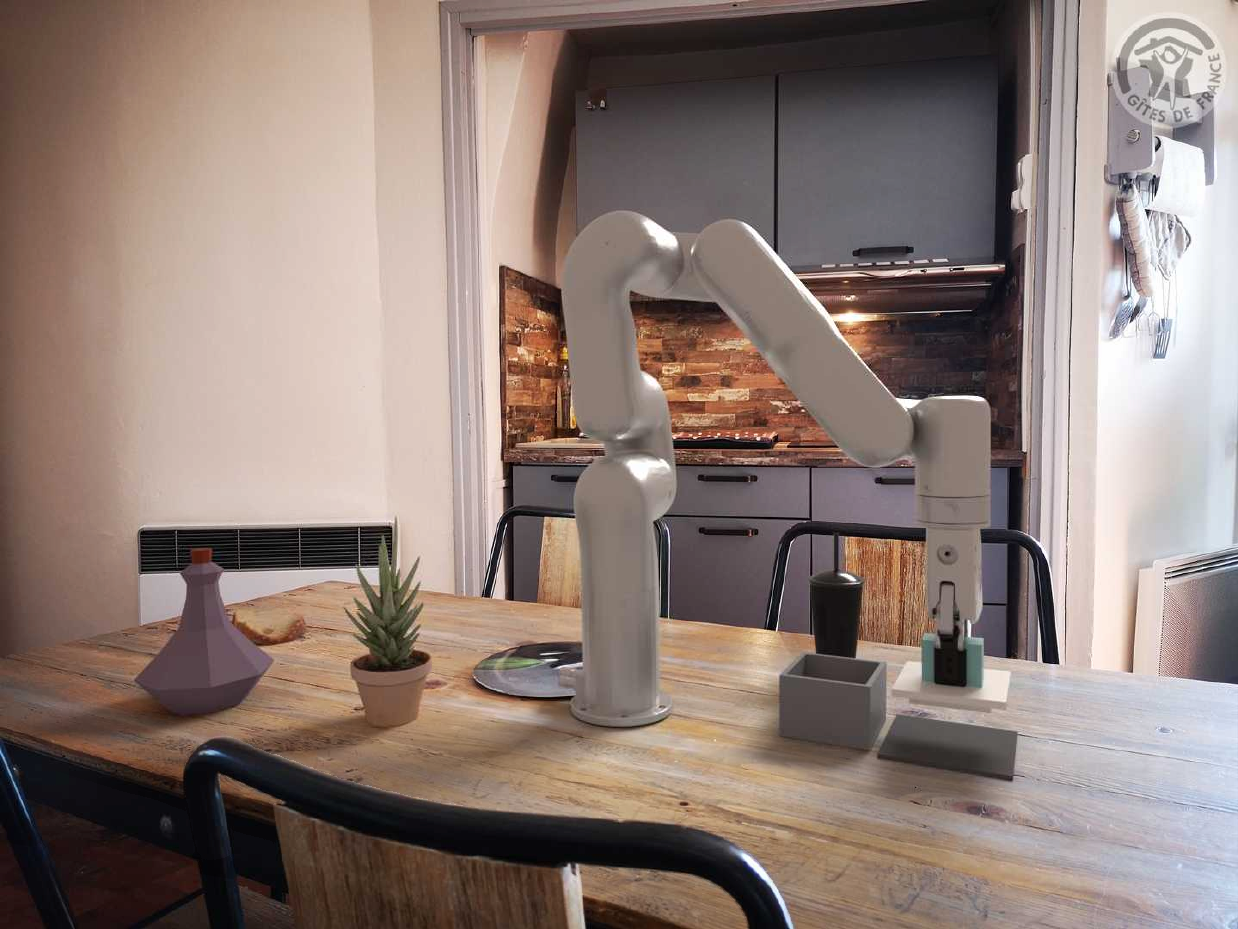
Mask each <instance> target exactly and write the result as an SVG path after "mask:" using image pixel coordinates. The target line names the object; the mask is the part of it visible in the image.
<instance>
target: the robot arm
mask: <svg viewBox="0 0 1238 929" xmlns="http://www.w3.org/2000/svg"><path fill="white" fill-rule="evenodd" d="M562 268H563V269H562V272H561V287H560V289H561V291H560V292H561V302H562V309H563V310H562V311H563V312H562V313H563V319H564V326H565V333H566V345H567V346H566V347H567V348H566V349H567V360H568V368H569V369H568V370H569V377H570V379H569V380H570V387H571V398H572V409H573V415H574V419H575V422H576V425H577V426H578V429H579V430H580V432H581V433H582V434H583V435H584V436H585V437H586V438H588V439H590V440H592V441H594V442H597V443H602V444H603V448H604V449H603V450H604V456H603V457H600V458H598V459H596V460H594V461H593V462H592V463H590V464H589V465H588V466H586V468H585V469H584V470H583V472H582V473H581V474H580V476H579V478H578V480H577V481H576V485H575V489H574V493H573V513H574V517H575V524H576V529H577V530H576V531H577V536H578V544H579V545H578V546H579V555H580V556H579V557H580V558H579V560H580V586H581V588H580V589H581V639H582V640H581V641H582V642H581V643H582V644H581V646H582V649H581V650H582V669H577V668H575V667H574V668H573V667H568V666H562V667H560V669H559V672H558V679H557V686H558V687H560V688H566V689H568V688H569V689H573V690H574V692H575V695H574V696H573V697H572V698H571V700H570V711H571V713H572V714H573V716H574V717H576V718H577V719H578V720H580V721H583V722H584V723H589V724H593V725H597V726H603V727H616V728H617V727H620V728H623V727H624V728H625V727H637V726H643V725H649V724H653V723H656V722H659V721H661V720H663V719H665V718H667V717H668V716H669V715H670V714H671V713H672V711H673V708H674V707H673V699H672V697H671V695H669V694H668V693H667V692H665V691H663V690H661V684H660V683H661V678H660V677H661V676H660V675H661V670H660V668H661V666H660V665H661V664H660V661H661V660H660V658H661V657H660V655H661V654H660V585H659V559H658V558H659V557H658V549H657V541H656V534H655V530H654V529H655V528H654V521H656V520H658V519H660V518H662V517H663V516H664V515H665V514H666V513H667V512H668V511H669V510H670V508H671V507H672V505H673V503H674V501H675V497H676V493H677V484H678V483H677V482H678V481H677V471H676V470H677V469H676V468H677V467H676V459H675V451H674V442H673V434H672V433H673V432H672V425H671V424H672V423H671V416H670V409H669V403H668V400H667V396H666V394H665V392H664V389H663V387H662V386H661V385H660V383H659V382H658V380H656V379H655V378H654V377H653V375H651V374H650V373H648V372H646V371H643V370H641V364H640V359H639V358H640V357H639V351H638V341H637V340H638V339H637V337H638V336H637V331H636V324H635V320H634V317H633V313H632V308H631V304H630V292H631V291H632V292H634V293H637V294H639V295H642V296H645V297H651V298H658V299H659V298H660V299H670V300H671V299H672V300H682V301H683V300H684V301H696V302H705V303H707V302H708V303H716V304H717V305H718V307H720V308H721V310H723V312H724V313H725V314H726V316H728V317H729V318H730V320H732V322H733V323H734V324H735V325H736V326H737V328H738V329H739V331H740V332H742V333H743V335H744V336H745V337H746V339H747V340H748V341H749V342H750V344H751V345H752V346H753V347H754V348H755V350H757V352H758V353H759V354H760V356H761V357H763V360H764V361H765V362H766V363H767V364H768V366H769V367H770V368H771V370H772V371H773V372H774V373H775V374H776V375H777V376H778V378H780V379H781V380H782V381H783V382H784V383H785V385H786V386H787V387H788V388H789V389H790V391H791V392H792V393H793V395H794V396H795V397H796V399H797V400H798V401H799V402H800V403H801V405H802V406H803V408H805V410H806V411H807V412H808V413H809V414H810V416H811V418H813V419H814V421H816V422H817V424H818V425H819V426H820V427H821V428H822V429H823V431H825V433H826V434H827V435H828V437H830V439H831V440H832V441H833V443H834V444H835V445H836V446H837V447H838V448H839V450H840V451H841V452H842V453H843V454H844V455H845V456H846V457H848V458H849V459H850V460H852V461H853V462H854V463H856V464H858V465H860V466H863V467H868V468H882V467H887V466H890V465H892V464H894V463H896V462H898V461H905V460H906V461H907V460H914V504H915V505H914V506H915V507H914V508H915V509H914V510H915V512H914V513H915V514H914V515H915V516H914V524H915V525H916V526H919V527H923V528H925V530H926V531H925V592H926V594H925V595H926V598H925V599H926V612H927V613H926V614H927V617H928V618H929V619H930V620H931V621H932V622H933V621H935V634H936V635H935V646H934V682H935V683H936V684H939V685H948V686H957V687H965V686H966V684H967V649H964V637H969V623H970V624H971V625H974V624H976V623H977V622H978V621H979V619H980V616H981V613H982V610H983V573H982V572H983V570H982V569H983V568H982V567H983V565H982V563H983V562H982V560H983V558H982V554H983V552H982V538H981V529H985V528H989V527H991V457H992V456H991V441H992V440H991V438H992V437H991V434H992V433H991V432H992V431H991V430H992V428H991V421H992V420H991V418H992V417H991V406H990V405H989V402H988V401H987V399H985V398H984V397H981V396H975V395H945V396H944V395H943V396H942V395H941V396H930V397H926V398H924V399H908V398H907V399H906V398H896V397H895V395H893V393H892V392H890V391H889V389H888V388H887V387H886V386H885V385H884V384H883V382H882V381H881V380H880V379H879V378H878V377H877V376H876V374H874V372H873V371H872V370H871V369H870V368H869V367H868V365H867V364H866V363H865V362H864V361H863V360H862V359H861V357H860V356H859V355H858V354H857V353H856V352H855V351H854V349H853V348H852V347H851V346H850V345H849V343H848V342H847V341H846V339H845V338H844V337H843V335H842V334H841V332H840V331H839V329H838V328H837V326H836V324H835V322H834V320H833V319H832V316H830V314H829V313H828V312H827V310H826V309H825V307H824V306H823V305H822V304H821V302H819V301H818V299H816V297H814V295H813V294H812V293H811V292H810V291H809V289H807V287H805V285H804V284H803V283H802V282H801V281H800V279H798V277H797V276H796V275H795V274H794V273H793V272H792V271H791V270H790V268H789V267H788V266H787V265H786V264H785V263H784V261H782V259H781V258H780V257H779V256H778V254H777V253H776V252H775V251H774V250H773V249H772V248H771V247H770V245H769V244H768V243H767V242H766V241H765V240H764V239H763V237H761V236H760V234H759V233H758V232H757V231H756V230H755V229H754V228H752V227H751V226H750V225H749V224H747V223H745V222H743V221H742V220H738V219H732V218H730V219H729V218H727V219H721V220H717V221H715V222H712V223H711V224H709V225H707V226H706V227H705V228H704V229H703V230H702V231H701V232H700V233H694V232H693V233H692V232H678V231H668V230H666V229H664V227H662V226H661V225H659V224H658V223H656V222H655V221H653V220H652V219H651V218H649V217H647V216H646V215H644V214H641V213H638V212H635V211H631V210H615V211H609V212H607V213H605V214H603V215H600V216H599V217H597V218H595V219H594V220H592V221H591V222H590V223H589V224H587V225H586V226H585V227H584V229H582V230H581V232H579V234H578V235H577V236H576V238H575V239H574V241H573V242H572V243H571V245H570V247H569V249H568V252H567V254H566V256H565V260H564V262H563V267H562Z"/></svg>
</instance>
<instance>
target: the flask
mask: <svg viewBox="0 0 1238 929" xmlns="http://www.w3.org/2000/svg"><path fill="white" fill-rule="evenodd" d="M189 553H190V554H189V555H190V559H191V563H190V564H189V565H187V567H186V568H183V570H181V571H180V572H179V575H180V576H181V578H182V579H183V581H184V582H185V584H186V592H185V593H186V595H185V601H184V604H183V609H182V613H181V616H180V620H179V624H178V628H177V630H176V631H174V634H173V635H172V636H171V637H170V638H169V639H168V641H167V642H166V643H165V645H163V647H162V648H161V650H160V651H159V652H158V653H157V654H156V655H155V657H153V659H152V660H151V661H150V662H149V663H148V664H147V665H146V666H145V667H144V669H143V670H141V672H140V673H139V674H138V675H137V676H136V677H135V678H134V679H133V682H134V683H135V684H137V685H138V686H139V687H140V688H142V689H143V690H144V691H145V692H146V693H147V694H149V695H150V696H151V697H152V698H153V699H155V700H156V701H157V702H158V703H160V704H161V705H162V706H163V707H164V708H166V709H167V711H171V712H172V713H175V714H176V715H177V714H178V715H179V716H184V715H202V714H205V715H206V714H207V715H208V714H213V713H217V712H220V711H224V710H227V709H230V708H233V707H237V706H239V705H240V704H242V702H243V701H244V700H245V699H246V698H247V697H248V696H249V694H250V693H251V692H252V691H253V689H254V688H255V687H256V685H257V684H258V683H259V681H260V680H261V678H263V676H264V675H265V673H266V672H267V671H268V669H269V668H270V667H271V666H272V664H273V663H274V662H275V659H274V658H273V657H272V656H270V655H269V654H268V653H267V652H265V651H264V650H263V649H261V648H260V647H259V645H255V644H254V643H252V642H251V641H250V640H249V639H248V638H246V637H245V636H244V635H243V634H242V633H241V632H240V631H239V630H238V629H237V628H236V627H235V626H234V625H233V624H232V621H230V618H229V615H228V613H227V609H226V607H225V604H224V601H223V598H222V595H221V590H220V584H219V581H220V579H221V577H222V575H223V572H224V568H223V567H222V566H220V565H218V564H216V563H215V562H213V561H212V554H213V548H212V547H210V548H209V547H199V548H192V549H190V550H189Z"/></svg>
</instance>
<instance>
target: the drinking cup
mask: <svg viewBox="0 0 1238 929" xmlns="http://www.w3.org/2000/svg"><path fill="white" fill-rule="evenodd" d="M839 560H840V533H839V532H833V569H826V570H822V571H819V572H817V573H815V574H813V575H810V576H808V577H807V582H808V584H809V590H810V603H811V612H812V614H811V615H812V625H813V635H814V644H815V647H814V648H815V654H822V655H831V656H839V657H848V658H856V659H857V652H858V651H857V650H858V641H859V640H858V639H859V632H860V631H859V630H860V620H861V611H862V609H861V608H862V600H863V599H862V598H863V590H864V589H863V588H864V586H865V585H866V579H865V578H863V577H861V576H859V575H857V574H855V573H853V572H851V571H848V570H845V569H840V561H839Z"/></svg>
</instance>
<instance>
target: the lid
mask: <svg viewBox="0 0 1238 929" xmlns="http://www.w3.org/2000/svg"><path fill="white" fill-rule="evenodd" d="M935 635H936V633H929V632H928V633H924V634H923V636H922V638H921V644H920V645H921V649H920V650H921V661H910V660H907V661H906V662H905V664H904V666H903V668H902V670H901V672H900V673H899V675H898V676H897V679H896V680H895V682H894V683H893V686H892V687H891V697H893V698H902V699H908V704H914V705H922V706H930V707H937V708H944V709H945V708H946V709H954V710H961V711H963V710H964V711H970V712H978V713H979V712H980V713H986V714H987V713H988V714H992V710H993V709H994V710H1001V711H1007V707H1008V700H1009V693H1010V686H1011V679H1012V677H1011V676H1012V675H1011V673H1012V672H1011V671H1008V670H999V669H989V668H985V667H984V666H985V660H984V659H985V658H984V657H985V656H984V654H985V649H984V648H985V647H984V646H985V642H984V640H985V639H984V637H973V636H968V637H964V649H967V684H966V686H965V687H957V686H948V685H939V684H936V683H935V682H934V646H935Z"/></svg>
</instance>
